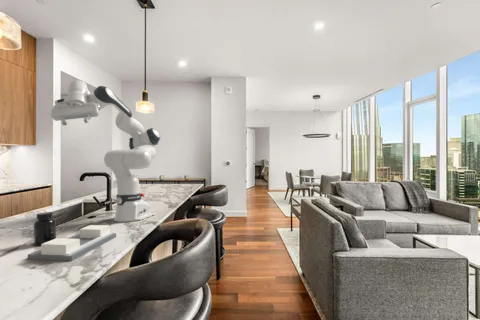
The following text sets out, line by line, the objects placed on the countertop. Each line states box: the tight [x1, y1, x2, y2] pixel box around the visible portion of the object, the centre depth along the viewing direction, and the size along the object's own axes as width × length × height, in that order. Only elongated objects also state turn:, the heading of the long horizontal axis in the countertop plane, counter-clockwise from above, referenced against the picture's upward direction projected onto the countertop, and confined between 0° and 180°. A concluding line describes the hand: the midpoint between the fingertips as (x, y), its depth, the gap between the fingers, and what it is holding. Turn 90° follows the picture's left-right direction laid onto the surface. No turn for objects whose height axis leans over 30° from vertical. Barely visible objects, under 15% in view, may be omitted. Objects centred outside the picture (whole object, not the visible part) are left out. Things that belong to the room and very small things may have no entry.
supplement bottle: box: [33, 211, 57, 247], centre depth 95 cm, size 7×7×12 cm
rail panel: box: [27, 224, 117, 262], centre depth 91 cm, size 24×16×5 cm, turn 175°
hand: (75, 123), depth 114 cm, fingers open, 8 cm apart
